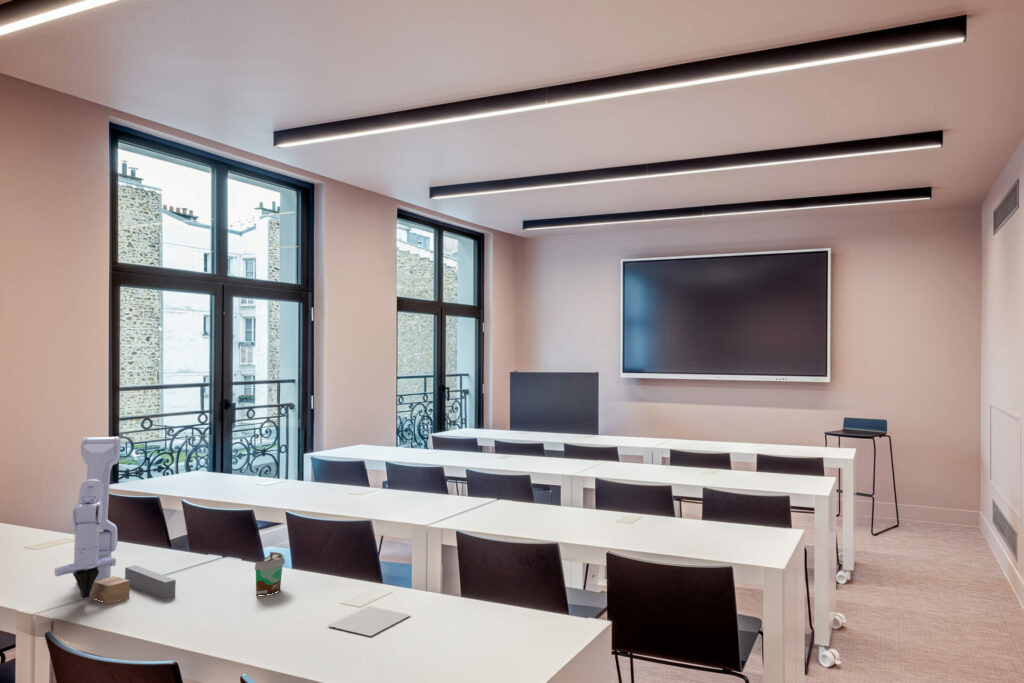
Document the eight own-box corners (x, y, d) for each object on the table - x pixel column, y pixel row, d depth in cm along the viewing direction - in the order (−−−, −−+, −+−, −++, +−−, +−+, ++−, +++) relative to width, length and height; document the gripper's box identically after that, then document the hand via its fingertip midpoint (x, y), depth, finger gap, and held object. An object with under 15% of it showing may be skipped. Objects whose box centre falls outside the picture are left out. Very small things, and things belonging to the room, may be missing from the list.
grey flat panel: (299, 621, 181) (299, 619, 181) (361, 594, 203) (361, 592, 203) (370, 638, 170) (370, 636, 170) (428, 608, 192) (428, 605, 192)
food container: (275, 598, 198) (276, 563, 199) (254, 598, 198) (254, 562, 199) (290, 585, 210) (291, 551, 211) (270, 584, 211) (270, 551, 211)
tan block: (91, 599, 197) (92, 581, 197) (112, 593, 202) (113, 576, 202) (108, 604, 193) (108, 586, 193) (129, 598, 198) (129, 580, 198)
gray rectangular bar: (124, 584, 211) (125, 567, 211) (135, 581, 213) (135, 565, 214) (164, 600, 197) (165, 582, 197) (175, 597, 199) (175, 579, 199)
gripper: (61, 554, 185) (59, 606, 184) (120, 544, 196) (118, 593, 195) (52, 550, 190) (51, 600, 189) (111, 540, 200) (109, 588, 200)
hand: (85, 596), depth 192 cm, fingers closed
